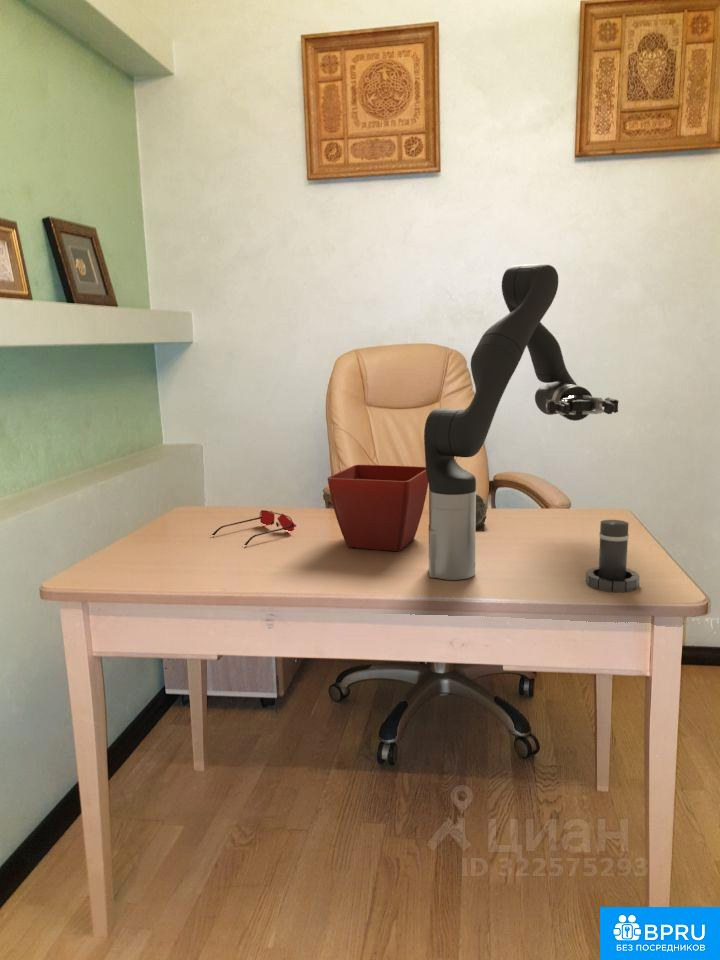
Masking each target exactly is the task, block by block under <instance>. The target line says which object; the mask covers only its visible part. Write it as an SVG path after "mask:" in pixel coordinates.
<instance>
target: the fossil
mask: <svg viewBox="0 0 720 960" xmlns="http://www.w3.org/2000/svg"><path fill="white" fill-rule="evenodd" d="M487 511H488V506H487V504H486V503H485V501H484V498H483V497H482V496H481V495H480V494H478V493H476V529H479V528H480V527H481V526H482V525H483V524H485V522H486V520H487Z"/></svg>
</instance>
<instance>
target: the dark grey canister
mask: <svg viewBox="0 0 720 960" xmlns="http://www.w3.org/2000/svg"><path fill="white" fill-rule="evenodd" d="M629 524H630V523H629V522H627V521H624V520H621V519H603V520H601V521H600V525H599V526H600V527H599V528H600V530H599V535H598V536H599V550H598V551H599V553H598V554H599V555H598V556H599V557H598V566H599V572H598V577H601V578H605V579H611V580H624V579H626V568H627V566H628V565H627V564H628V563H627V562H628V545H629V543H628V542H629Z"/></svg>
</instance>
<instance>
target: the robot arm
mask: <svg viewBox="0 0 720 960" xmlns="http://www.w3.org/2000/svg"><path fill="white" fill-rule="evenodd" d="M558 287H559V274H558V271H557V269H556V268H555V267H554V266H553V265H550V264H547V263H533V264H532V263H530V264H516V265H512V266H509V267H508V268H507V269H505V271H504V273H503V276H502V279H501V294H502V296H503V297H502V298H503V299H504V303H505V305H506V308H507V309H508V311H509V313H508V314H506V315H505V316H503V317H502V318H501V319H499V320H498V321H496V322H495V323H494V324H493V325H491V326H489V328H487V330H486V331H485V332H484V333H483V334H482V336H481V338H480V339H479V341H478V343H477V345H476V347H475V349H474V351H473V353H472V354H471V358H470V371H471V376H472V379H473V383H474V388H475V392H474V396H473V399H472V400H471V402H470V404H469V405H468V406H467V407H466V408H465V409H463V408H462V409H461V408H436V409H433V410H431V412H429V414H428V416H427V417H426V420H425V424H424V432H423V442H424V443H423V444H424V457H425V458H424V459H425V461H424V462H425V463H424V464H425V467H426V475H427V479H428V482H429V483H428V503H429V504H428V511H429V512H428V517H429V518H428V522H429V523H428V571H429V573H428V574H429V578H435V579H436V578H437V579H440V580H441V579H442V580H447V581H448V580H449V581H459V580H466V579H470V578H473V577H474V576H475V575H476V533H477V531H476V494H477V479H476V477H475V475H474V474H472V472H470V471H467V470H466V469H465V468H462V467H461V466H460V465H459V464H458V461H456V459H455V457H456V458H472V457H474V456H476V455H477V454H478V453H479V452H480V450H481V449H482V447H483V445H484V444H485V441H486V439H487V436H488V433H489V431H490V428H491V426H492V423H493V420H494V417H495V414H496V412H497V410H498V407H499V404H500V401H501V399H502V397H503V395H504V393H505V391H506V388H507V387H508V385H509V382H510V381H511V378H512V377H513V375H514V373H515V372H516V369H517V367H518V365H519V363H520V361H521V359H522V357H523V355H524V353H525V350H526V348H527V350H528V352H529V355H530V356H529V357H530V359H531V362H532V366H533V370H534V373H535V376H536V379H537V380H538V381H539V382H541V383H545V385H542V386H540V387H539V388H538V389H537V390H536V392H535V393H534V401H535V402H534V403H535V405H536V406H537V408H538V409H539V410H540V412H542V413H543V414H545V415H547V416H553V415H560V416H561V417H563V418H565V419H567V420H569V421H576V422H577V421H580V420H583V419H585V418H587V417H588V416H589V415H591V414H592V415H599V414H603V413H605V414H607V415H612V414H613V413H614V414H616V413H619V403H620V402H619V400H618V399H615V398H612V397H611V398H610V397H605V398H604V399H603V397H599V396H598V397H596V396H595V397H594V396H593V395H592V393H591V391H589V389H587V388H585V387H583V386H580V385H578V384H577V383H576V382H575V380H574V379H573V378H572V376H571V375H570V373H569V371H568V369H567V366H566V364H565V361H564V357H563V353H562V352H563V351H562V348H561V346H560V343H559V342H558V340H557V339H556V337H555V336H554V335H553V334H552V332H551V331H549V330H548V328H547V327H546V326H545V325H544V324H543V323H542V322H541V321H542V319H543V318H544V316H545V315H546V313H547V312H548V310H549V309H550V308H551V306H552V304H553V302H554V299H555V298H556V296H557V291H558Z"/></svg>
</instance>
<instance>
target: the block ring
mask: <svg viewBox="0 0 720 960" xmlns="http://www.w3.org/2000/svg"><path fill="white" fill-rule="evenodd" d="M598 572H599V565H598V566H594V567H591V568H588V570H586V571H585V583H586V585H587V586H588V587H591V588H593V589H594V590H598V591H603V592H610V593H628V592H632V591H636V590H637V589H638V588H639V587H640V575H639V573H637V571H634V570H632V569H629V568H627V567H626V579H624V580H611V579H605V578H601V577H598Z"/></svg>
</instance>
